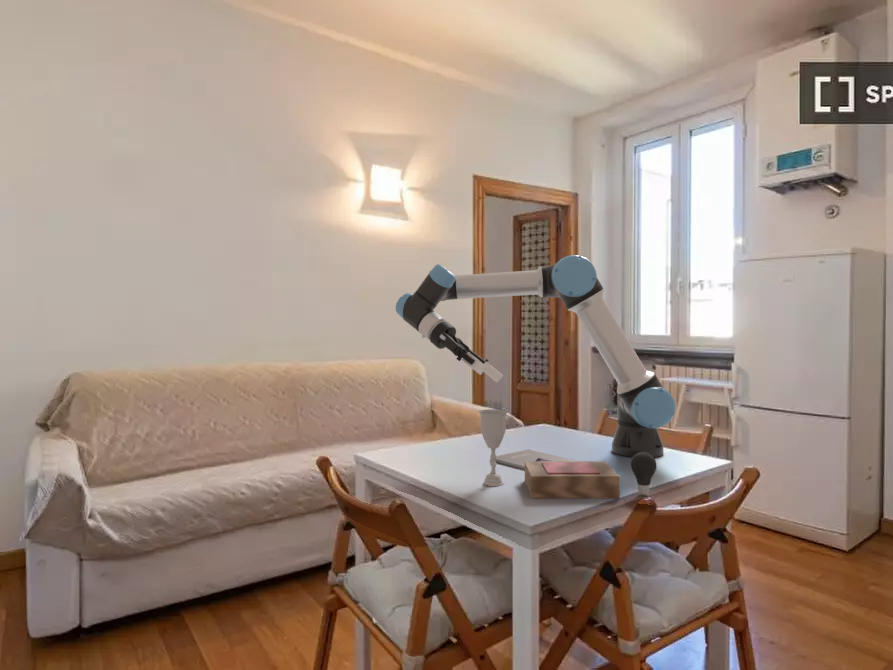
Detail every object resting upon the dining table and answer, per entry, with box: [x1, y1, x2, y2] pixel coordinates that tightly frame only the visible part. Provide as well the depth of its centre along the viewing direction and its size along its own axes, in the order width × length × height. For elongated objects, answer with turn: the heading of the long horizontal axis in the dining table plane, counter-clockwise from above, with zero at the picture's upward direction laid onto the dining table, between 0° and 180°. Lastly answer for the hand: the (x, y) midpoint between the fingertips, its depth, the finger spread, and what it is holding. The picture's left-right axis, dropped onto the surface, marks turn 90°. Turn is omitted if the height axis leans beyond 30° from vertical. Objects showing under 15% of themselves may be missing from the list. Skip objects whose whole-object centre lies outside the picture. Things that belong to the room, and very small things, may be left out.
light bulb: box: [630, 452, 658, 497], centre depth 129 cm, size 6×6×10 cm
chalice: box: [478, 408, 508, 487], centre depth 140 cm, size 7×7×18 cm
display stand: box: [524, 460, 621, 499], centre depth 134 cm, size 20×14×5 cm
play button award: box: [489, 449, 577, 471], centre depth 160 cm, size 16×2×20 cm
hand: (492, 375), depth 150 cm, fingers open, 13 cm apart
